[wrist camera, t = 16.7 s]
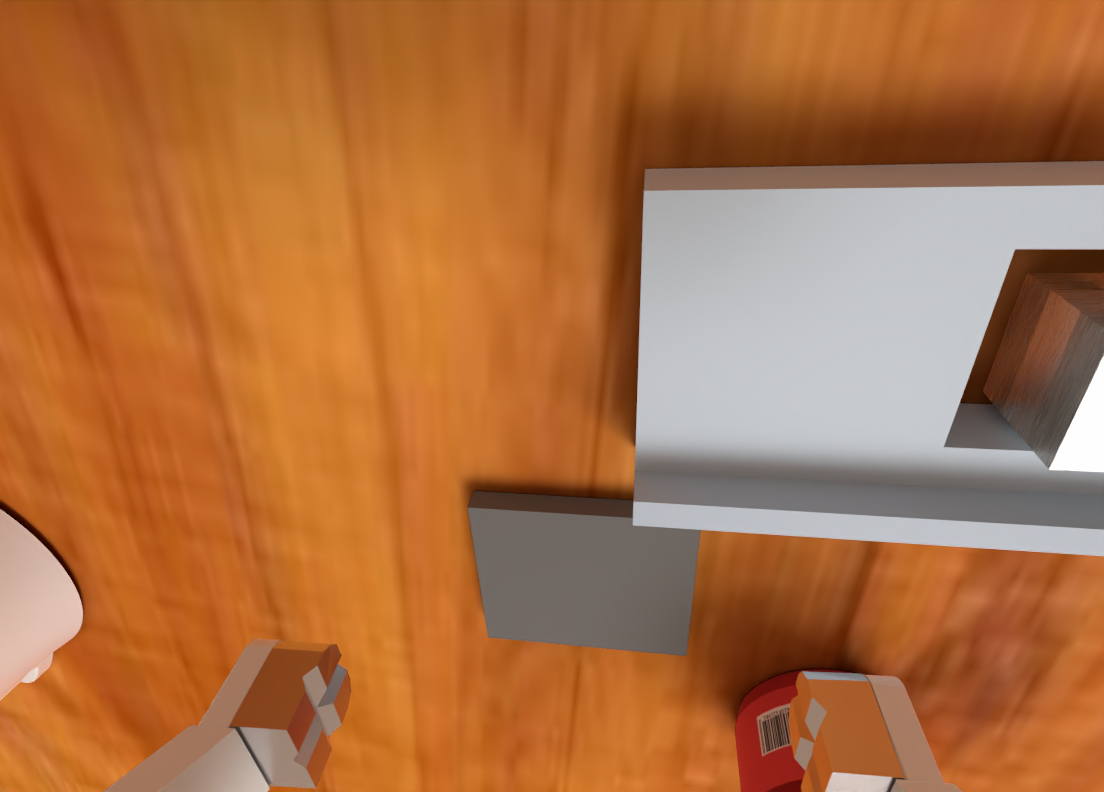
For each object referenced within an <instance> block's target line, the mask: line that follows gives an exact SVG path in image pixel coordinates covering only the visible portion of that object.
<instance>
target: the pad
mask: <svg viewBox="0 0 1104 792" xmlns="http://www.w3.org/2000/svg"><path fill="white" fill-rule="evenodd" d="M633 503H634V500H619V499H602V498H585V497H568V496H552V495H535V494H518V493H501V492H484V491H474V492H473V495H472V497H471V500H470V503H469V505H468V513H469V519H470V525H471V532H472V538H473V544H474V551H475V557H476V563H477V570H478V576H479V582H480V589H481V595H482V601H483V608H484V614H485V620H486V626H487V633H488V637H490V638H501V639H512V640H522V641H533V642H543V643H554V644H565V645H575V646H586V647H596V648H607V649H618V650H628V651H639V652H649V653H660V654H671V655H681V656H686V655H687V646H688V637H689V628H690V618H691V609H692V600H693V591H694V582H695V573H696V564H697V555H698V546H699V537H700V530H696V529H680V528H665V527H650V526H634V525H633Z"/></svg>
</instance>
